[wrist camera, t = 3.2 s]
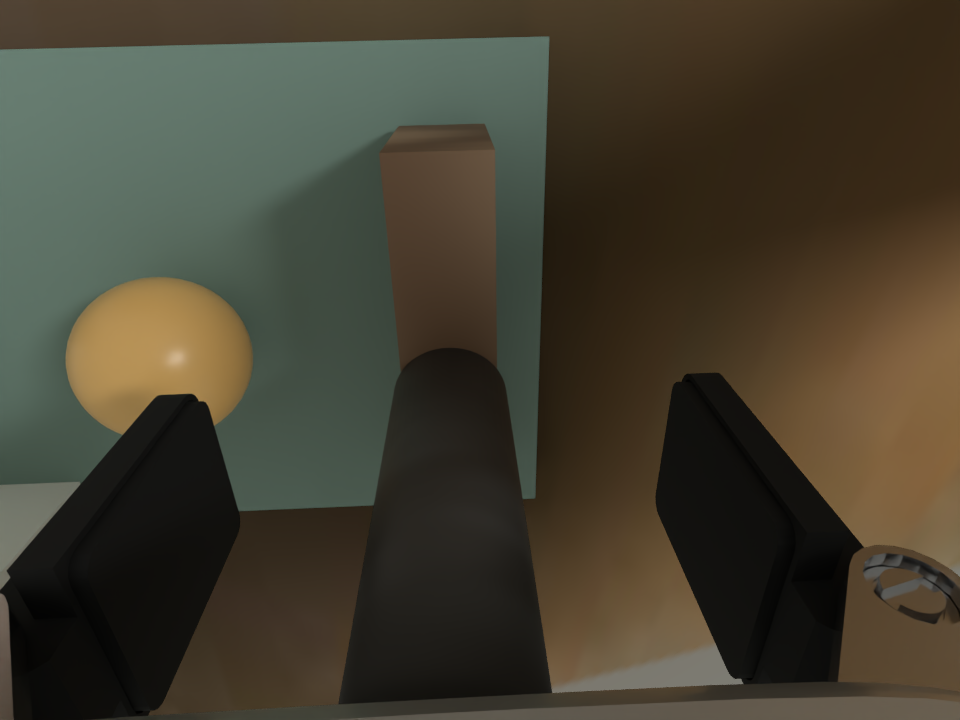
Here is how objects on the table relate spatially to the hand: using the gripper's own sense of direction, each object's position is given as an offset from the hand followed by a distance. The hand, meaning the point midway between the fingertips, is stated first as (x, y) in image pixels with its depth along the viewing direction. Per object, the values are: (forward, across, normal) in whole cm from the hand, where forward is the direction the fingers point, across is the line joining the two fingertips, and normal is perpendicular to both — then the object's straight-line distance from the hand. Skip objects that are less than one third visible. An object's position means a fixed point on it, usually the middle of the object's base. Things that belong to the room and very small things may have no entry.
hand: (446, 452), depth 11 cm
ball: (+4, +7, 0) cm, 8 cm away
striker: (+6, 0, 0) cm, 6 cm away
